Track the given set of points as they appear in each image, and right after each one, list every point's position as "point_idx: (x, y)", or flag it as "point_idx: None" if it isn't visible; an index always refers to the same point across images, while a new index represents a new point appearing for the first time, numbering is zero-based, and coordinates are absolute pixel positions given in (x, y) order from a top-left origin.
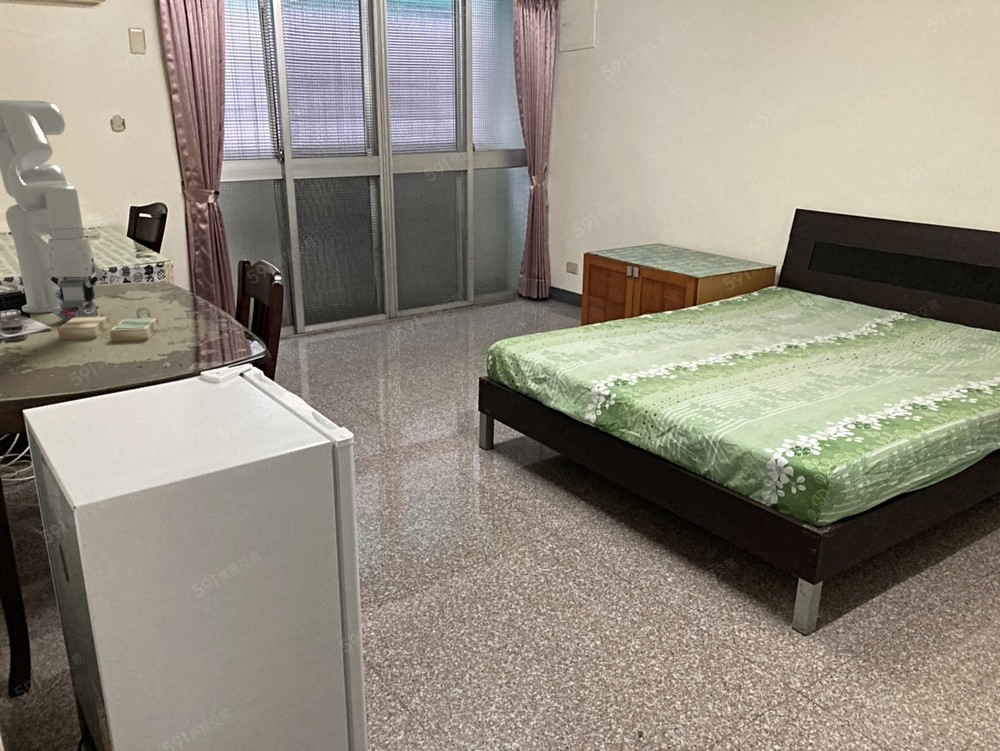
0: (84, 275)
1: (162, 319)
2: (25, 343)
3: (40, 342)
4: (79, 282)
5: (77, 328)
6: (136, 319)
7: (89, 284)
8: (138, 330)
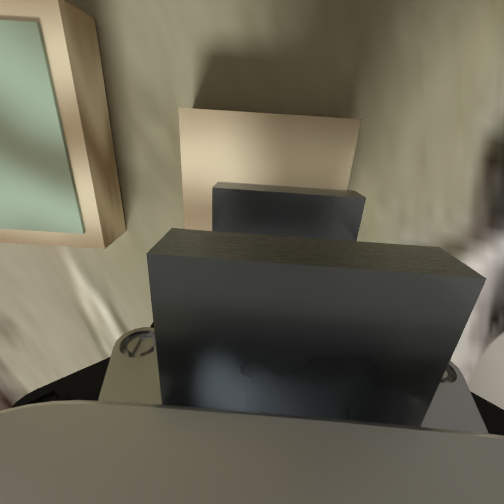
0: (38, 424)
1: (55, 331)
2: (488, 82)
3: (423, 86)
4: (155, 274)
5: (263, 113)
6: (27, 213)
7: (129, 353)
8: None
